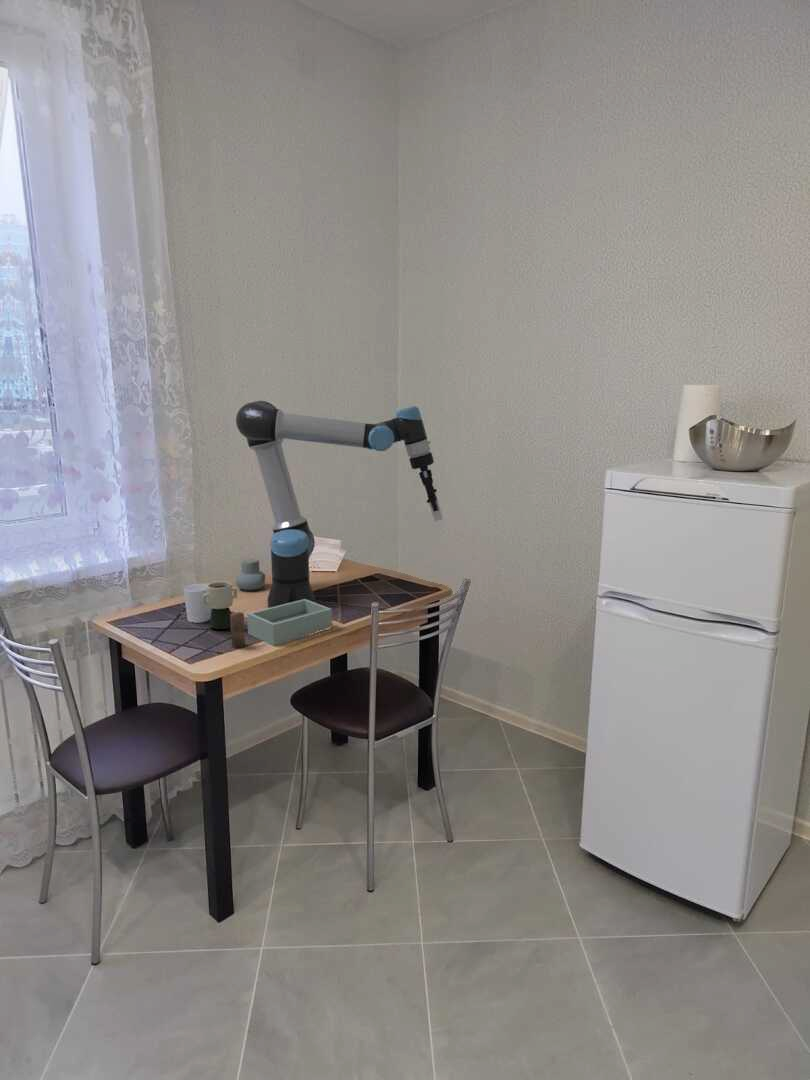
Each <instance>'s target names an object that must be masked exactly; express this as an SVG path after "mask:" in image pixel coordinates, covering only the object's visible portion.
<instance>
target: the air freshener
mask: <svg viewBox="0 0 810 1080" xmlns="http://www.w3.org/2000/svg"><path fill="white" fill-rule="evenodd" d="M240 563H241V572H239V573H238V574H237V576H236V579H235V583H236V586H237V587H238V588H239V589H241V590H243V591H257V590H258V591H259V590H260V589H261V588H263V587H264V586H265V584H266V573H264V572H263V571H261V570H260V560H259V559H257V558H253V557H251V558H249V557H248V558H244V559H242V560H241V562H240Z"/></svg>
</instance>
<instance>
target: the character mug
mask: <svg viewBox="0 0 810 1080" xmlns="http://www.w3.org/2000/svg"><path fill="white" fill-rule="evenodd" d="M207 584H208V585H207V593H206V594H203V595H202V603H203V605H207V604H208V606H209V607H210V608H211V619H210V620H209V621H210V622H209V623H210V626H209V627H210V628H212V629H216V630H227V629H229V628H231V620H230V614H232V613H231V609H230V608H231V607H233V602H234V601H233V600H234V599H236V598H238V589H237V587H234V586H233V583H231V582H230V581H214V582H210V583H207ZM205 597H207V601H206V598H205Z"/></svg>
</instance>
